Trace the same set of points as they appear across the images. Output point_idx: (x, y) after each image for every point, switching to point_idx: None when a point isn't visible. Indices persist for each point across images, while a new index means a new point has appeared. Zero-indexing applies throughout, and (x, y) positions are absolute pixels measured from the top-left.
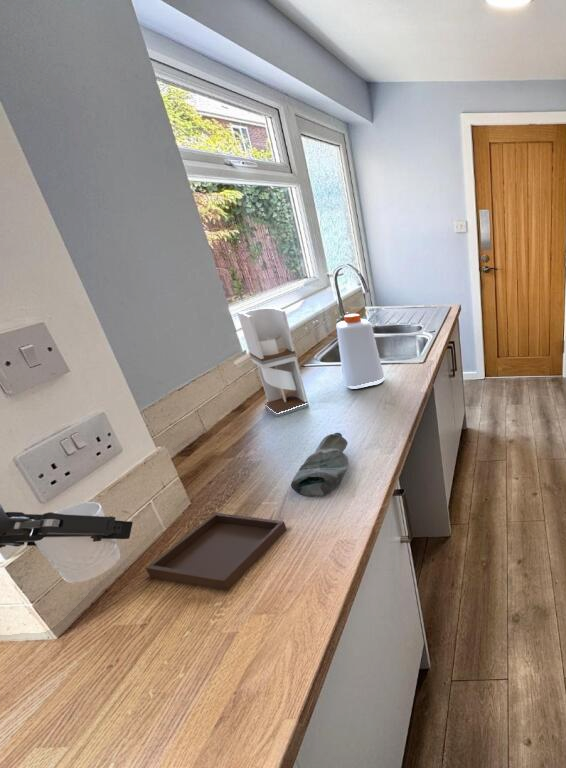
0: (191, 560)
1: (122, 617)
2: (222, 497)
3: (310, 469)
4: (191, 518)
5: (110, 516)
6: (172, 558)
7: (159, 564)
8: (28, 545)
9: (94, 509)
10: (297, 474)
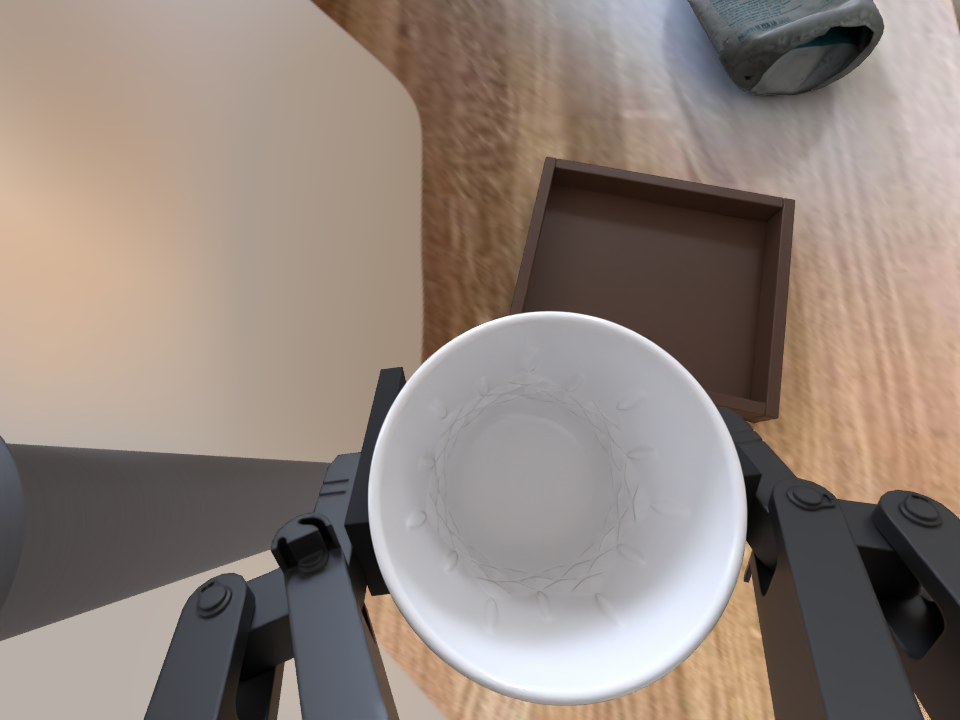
0: None
1: None
2: (484, 89)
3: None
4: (452, 164)
5: (940, 516)
6: (523, 311)
7: None
8: (381, 593)
9: (565, 342)
10: (716, 9)
